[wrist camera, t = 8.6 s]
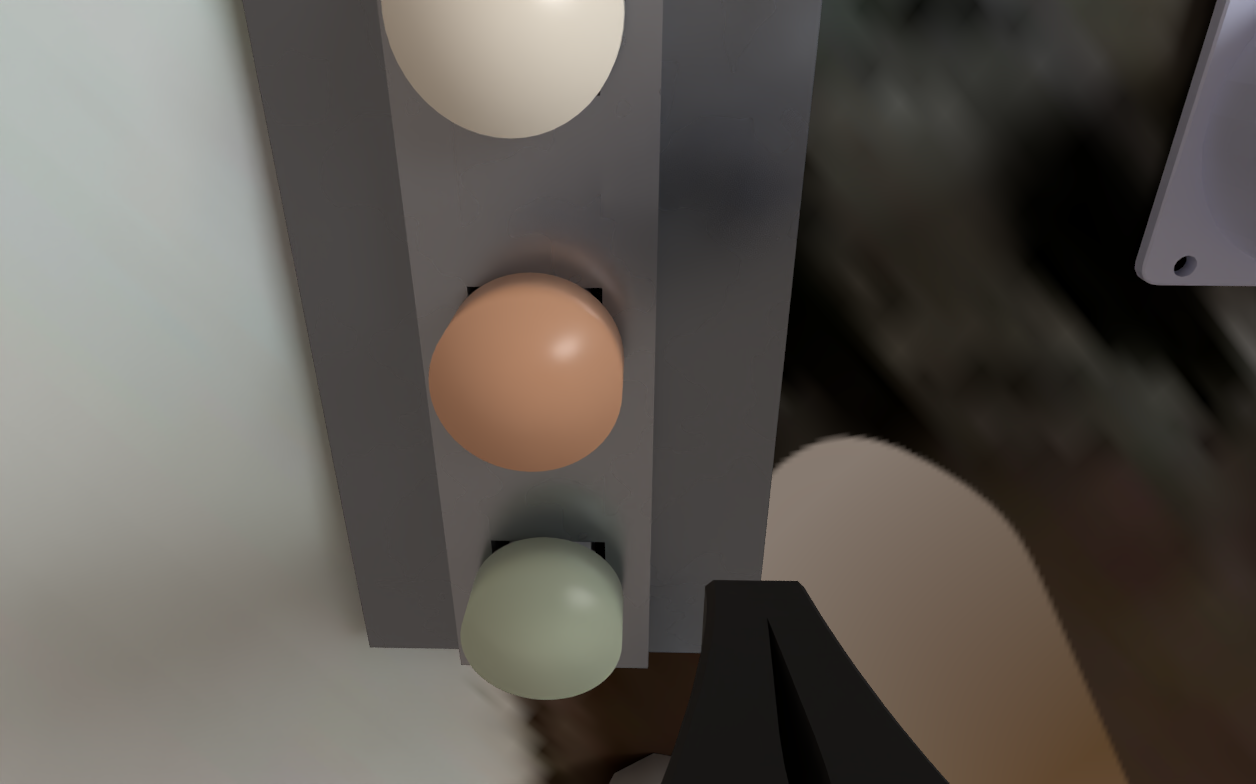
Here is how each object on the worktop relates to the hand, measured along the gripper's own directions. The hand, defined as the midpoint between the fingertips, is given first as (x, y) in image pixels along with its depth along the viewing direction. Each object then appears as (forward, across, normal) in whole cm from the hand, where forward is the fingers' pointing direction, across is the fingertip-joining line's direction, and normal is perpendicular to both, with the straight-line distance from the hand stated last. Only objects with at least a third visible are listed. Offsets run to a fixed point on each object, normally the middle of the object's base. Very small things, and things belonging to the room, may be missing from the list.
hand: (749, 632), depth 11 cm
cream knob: (+10, +4, -8) cm, 13 cm away
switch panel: (+10, +4, -1) cm, 11 cm away
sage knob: (+10, +4, +6) cm, 12 cm away
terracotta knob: (+10, +4, -1) cm, 11 cm away
